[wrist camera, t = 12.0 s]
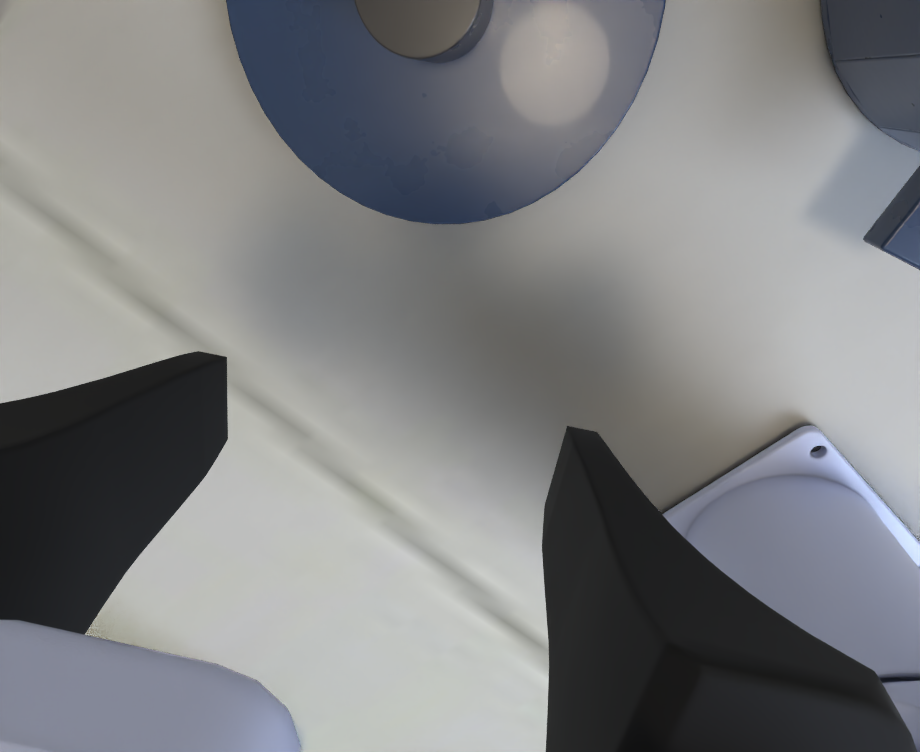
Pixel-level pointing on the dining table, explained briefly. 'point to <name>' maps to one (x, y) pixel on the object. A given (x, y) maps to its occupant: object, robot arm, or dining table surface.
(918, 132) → the pot
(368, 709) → the dining table surface
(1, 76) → the dining table surface
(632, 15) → the lid
